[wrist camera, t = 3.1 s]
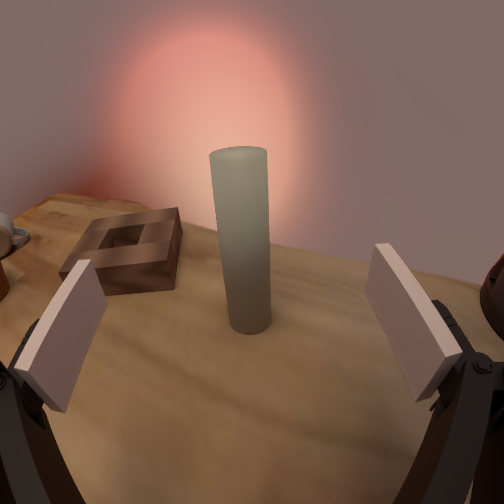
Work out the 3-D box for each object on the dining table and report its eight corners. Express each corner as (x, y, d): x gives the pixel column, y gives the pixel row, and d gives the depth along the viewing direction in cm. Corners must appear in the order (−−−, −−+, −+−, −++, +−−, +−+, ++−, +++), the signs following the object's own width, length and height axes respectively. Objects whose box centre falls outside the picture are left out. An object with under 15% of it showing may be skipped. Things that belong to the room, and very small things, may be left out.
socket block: (182, 230, 45) (177, 207, 43) (173, 289, 33) (166, 260, 31) (99, 241, 44) (93, 219, 41) (70, 298, 32) (58, 272, 30)
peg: (267, 303, 30) (261, 144, 22) (274, 331, 27) (271, 157, 18) (228, 307, 30) (209, 149, 21) (231, 336, 27) (209, 162, 18)
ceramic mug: (-11, 267, 39) (-26, 232, 35) (-9, 251, 44) (-21, 219, 40) (31, 245, 45) (19, 209, 41) (29, 232, 50) (19, 200, 46)
